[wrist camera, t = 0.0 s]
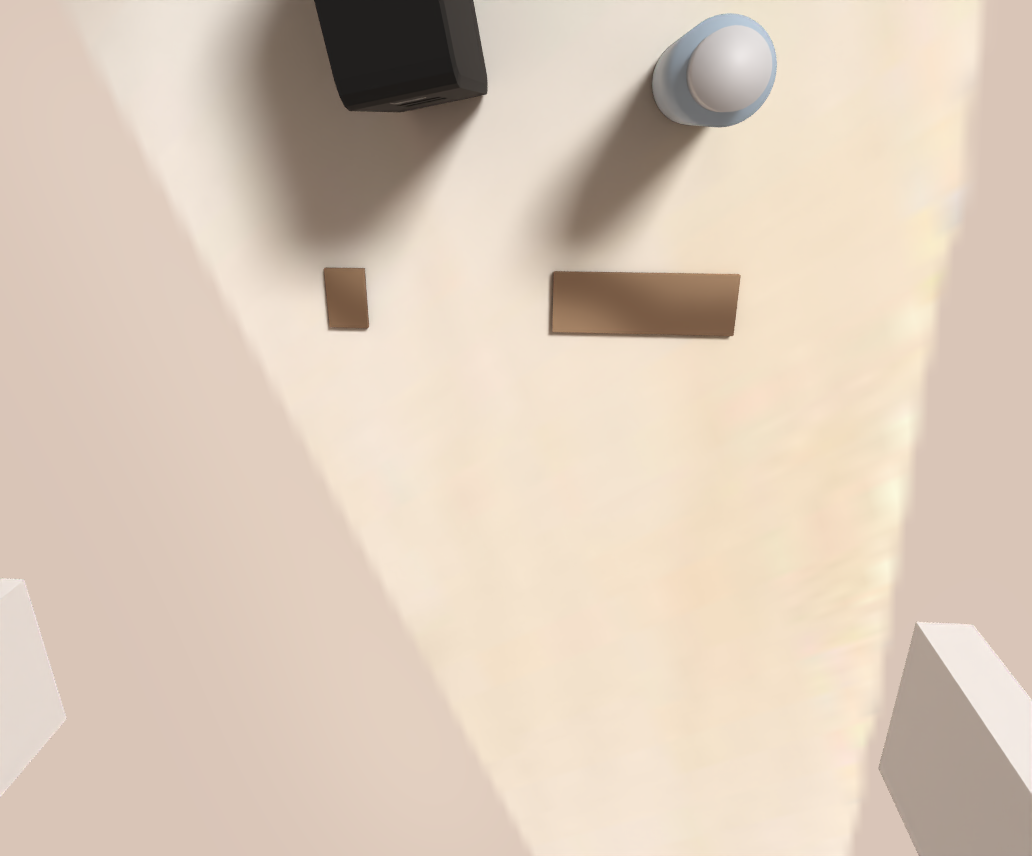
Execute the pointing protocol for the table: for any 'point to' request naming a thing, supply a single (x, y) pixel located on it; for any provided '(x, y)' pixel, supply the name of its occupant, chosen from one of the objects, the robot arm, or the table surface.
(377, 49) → the electronic device
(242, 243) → the table surface
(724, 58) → the marker peg
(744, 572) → the table surface
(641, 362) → the table surface
